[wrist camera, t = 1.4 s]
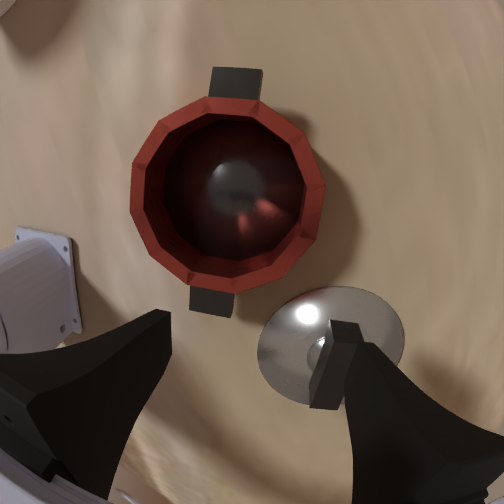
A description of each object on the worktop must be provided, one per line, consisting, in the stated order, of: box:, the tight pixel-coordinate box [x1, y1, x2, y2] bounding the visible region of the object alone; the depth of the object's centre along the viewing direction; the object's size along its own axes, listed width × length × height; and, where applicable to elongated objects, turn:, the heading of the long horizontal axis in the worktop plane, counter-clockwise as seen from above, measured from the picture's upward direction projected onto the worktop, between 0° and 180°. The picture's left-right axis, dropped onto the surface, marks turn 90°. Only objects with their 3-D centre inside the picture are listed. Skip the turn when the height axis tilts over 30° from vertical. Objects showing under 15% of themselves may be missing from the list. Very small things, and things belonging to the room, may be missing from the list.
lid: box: [257, 286, 404, 410], centre depth 20 cm, size 12×12×4 cm
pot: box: [130, 67, 326, 318], centre depth 17 cm, size 14×11×4 cm
